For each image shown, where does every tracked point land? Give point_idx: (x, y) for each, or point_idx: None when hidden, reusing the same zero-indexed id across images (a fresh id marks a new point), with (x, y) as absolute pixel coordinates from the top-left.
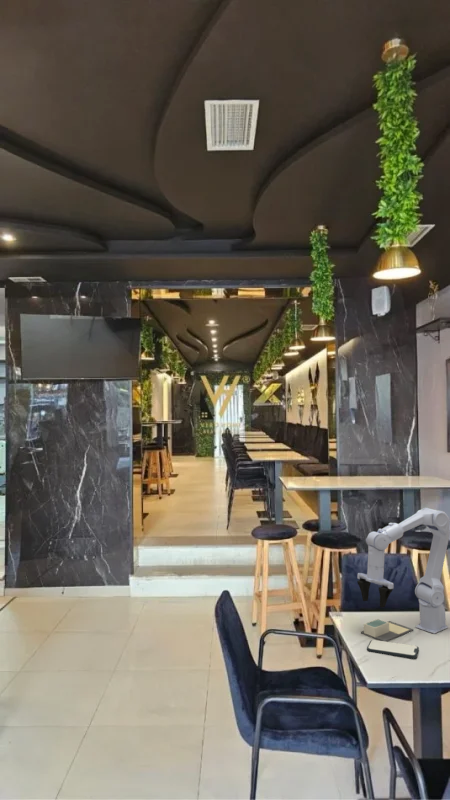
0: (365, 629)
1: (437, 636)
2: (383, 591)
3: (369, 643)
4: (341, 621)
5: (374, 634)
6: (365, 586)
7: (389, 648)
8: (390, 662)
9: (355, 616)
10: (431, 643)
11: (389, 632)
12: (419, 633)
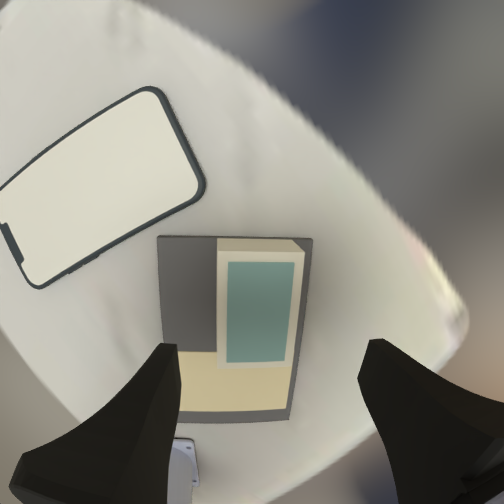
0: (287, 244)
1: None
2: (29, 456)
3: (183, 141)
4: (432, 281)
5: (223, 241)
6: (430, 454)
7: (79, 168)
8: (36, 91)
9: None
10: (62, 368)
11: (211, 338)
12: None
